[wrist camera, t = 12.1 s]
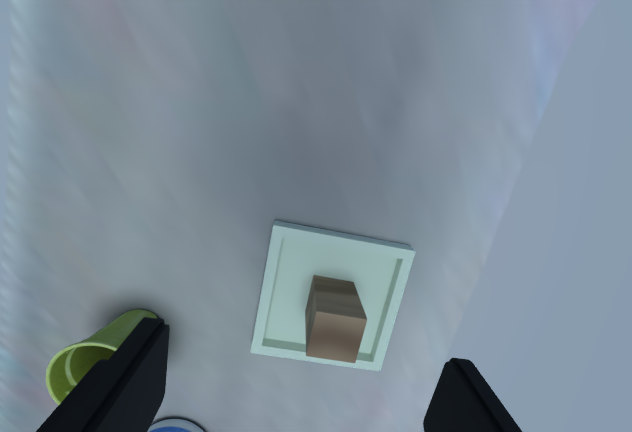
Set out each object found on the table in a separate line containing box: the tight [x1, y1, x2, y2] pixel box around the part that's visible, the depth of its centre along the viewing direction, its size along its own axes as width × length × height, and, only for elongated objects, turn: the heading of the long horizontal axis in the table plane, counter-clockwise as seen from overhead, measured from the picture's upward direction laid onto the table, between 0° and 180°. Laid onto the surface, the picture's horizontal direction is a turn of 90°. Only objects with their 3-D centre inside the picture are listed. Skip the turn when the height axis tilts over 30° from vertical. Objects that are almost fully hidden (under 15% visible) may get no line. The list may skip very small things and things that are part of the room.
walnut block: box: [305, 275, 367, 363], centre depth 33 cm, size 5×5×8 cm
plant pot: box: [46, 309, 158, 405], centre depth 34 cm, size 9×9×9 cm
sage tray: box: [251, 220, 416, 371], centre depth 37 cm, size 16×16×2 cm
